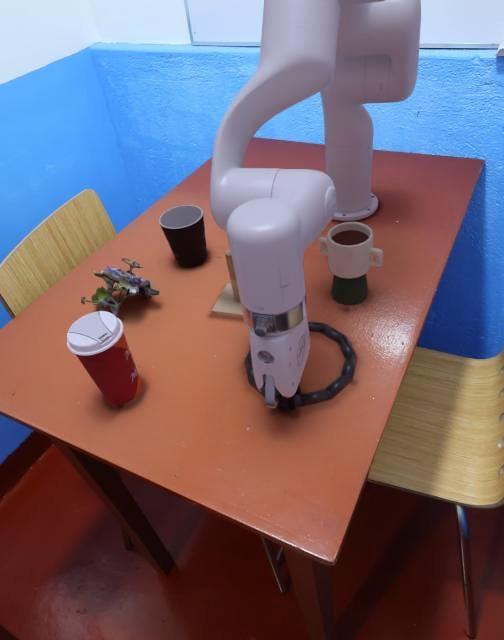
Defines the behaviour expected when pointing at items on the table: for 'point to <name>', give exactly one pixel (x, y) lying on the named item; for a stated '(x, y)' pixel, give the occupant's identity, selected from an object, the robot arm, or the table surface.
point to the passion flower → (120, 286)
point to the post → (229, 293)
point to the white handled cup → (350, 260)
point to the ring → (337, 384)
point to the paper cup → (105, 356)
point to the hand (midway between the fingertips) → (287, 401)
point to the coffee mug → (185, 234)
